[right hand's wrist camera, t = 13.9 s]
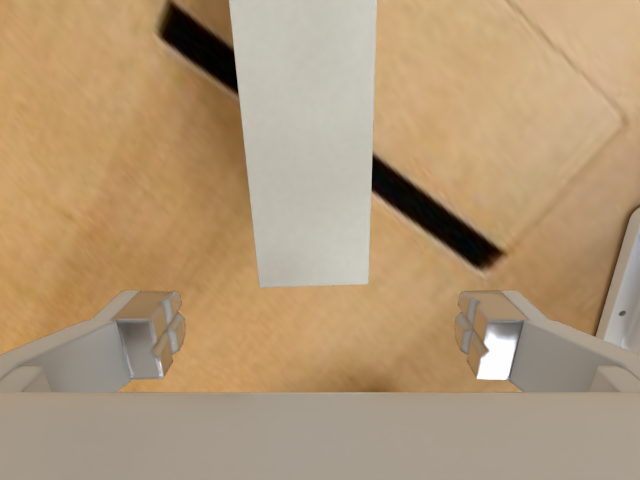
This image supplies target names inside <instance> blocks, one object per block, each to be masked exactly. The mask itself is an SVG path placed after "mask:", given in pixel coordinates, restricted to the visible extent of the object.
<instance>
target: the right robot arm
mask: <svg viewBox="0 0 640 480" xmlns="http://www.w3.org/2000/svg"><path fill="white" fill-rule="evenodd" d="M181 306H182V302H181V297H180V294H179V293H178V292H177V291H148V290H143V291H142V290H126V291H121V292H120V293H119V294H118V295H117V296H116V297H115V298H114V299H113V300H112V301H111V302H109V303H108V304H107V305H106V306H105V307H104V308H103V309H102V310H101V311H100V312H99V313H98V314H97V315H95V316H94V317H93V318H92V319H91V320H88V321H82V322H79V323H77V324H75V325H72V326H70V327H67V328H65V329H62V330H60V331H57V332H55V333H53V334H50V335H48V336H45V337H43V338H40V339H38V340H36V341H33V342H31V343H28V344H26V345H23V346H21V347H18V348H16V349H14V350H11V351H9V352H6V353H4V354H1V355H0V480H640V207H639V208H638V209H636V210H635V211H634V212H633V214H632V215H631V217H630V219H629V223H628V226H627V230H626V233H625V236H624V240H623V243H622V247H621V250H620V254H619V257H618V261H617V264H616V267H615V271H614V274H613V278H612V281H611V285H610V288H609V292H608V295H607V299H606V302H605V305H604V309H603V312H602V316H601V319H600V323H599V326H598V330H597V333H596V337H595V336H592V335H590V334H587V333H585V332H582V331H580V330H578V329H575V328H573V327H570V326H568V325H565V324H563V323H561V322H558V321H552V320H549V319H548V318H547V317H546V316H545V315H543V314H542V313H541V312H540V311H539V310H538V309H537V308H536V307H535V306H534V305H533V304H532V303H531V302H530V301H529V300H527V299H526V298H525V297H524V296H523V295H522V294H521V293H520V292H519V291H516V290H502V291H500V290H494V291H464V292H461V294H460V296H459V301H458V306H459V307H460V309H461V310H462V312H461V313H460V314H459V315H458V316H457V317H456V320H455V328H454V329H455V338H456V341H457V345H458V346H459V348H460V350H461V351H462V352H464V353H465V354H467V355H468V358H467V362H468V364H469V366H470V368H471V369H472V371H473V373H474V374H475V376H476V378H477V379H505V380H509V381H510V382H511V383H513V384H514V385H515V386H517V387H518V388H519V389H521V390H522V391H523V392H117V391H118V390H120V389H121V388H122V387H124V386H125V385H126V384H128V383H129V382H130V381H131V380H135V379H163V378H164V376H165V375H166V373H167V371H168V369H169V368H170V366H171V364H172V362H173V358H172V355H173V354H175V353H176V352H178V351H179V350H180V348H181V346H182V344H183V341H184V337H185V319H184V317H183V316H182V315H181V314H180V313H179V312H178V310H179V309H180V307H181Z"/></svg>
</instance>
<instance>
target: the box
mask: <svg viewBox="0 0 640 480" xmlns="http://www.w3.org/2000/svg"><path fill="white" fill-rule="evenodd" d="M229 8H230V17H231V26H232V36H233V45H234V54H235V64H236V73H237V82H238V92H239V101H240V110H241V120H242V129H243V138H244V147H245V157H246V166H247V175H248V185H249V194H250V203H251V213H252V222H253V231H254V241H255V250H256V259H257V269H258V278H259V287H260V288H265V287H295V286H324V285H354V284H368V279H369V246H370V213H371V180H372V147H373V114H374V81H375V48H376V16H377V0H229Z"/></svg>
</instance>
